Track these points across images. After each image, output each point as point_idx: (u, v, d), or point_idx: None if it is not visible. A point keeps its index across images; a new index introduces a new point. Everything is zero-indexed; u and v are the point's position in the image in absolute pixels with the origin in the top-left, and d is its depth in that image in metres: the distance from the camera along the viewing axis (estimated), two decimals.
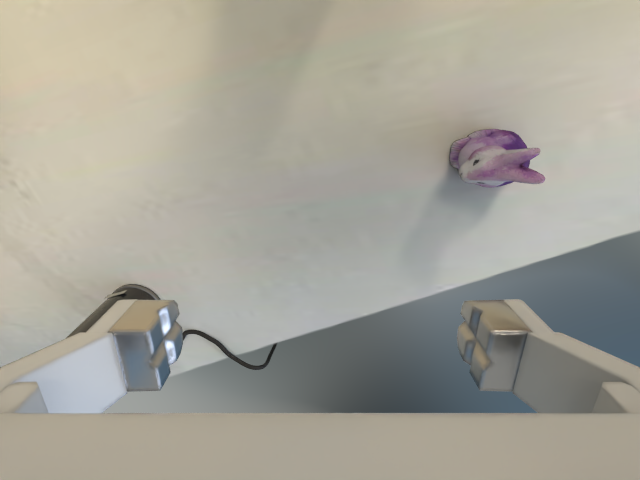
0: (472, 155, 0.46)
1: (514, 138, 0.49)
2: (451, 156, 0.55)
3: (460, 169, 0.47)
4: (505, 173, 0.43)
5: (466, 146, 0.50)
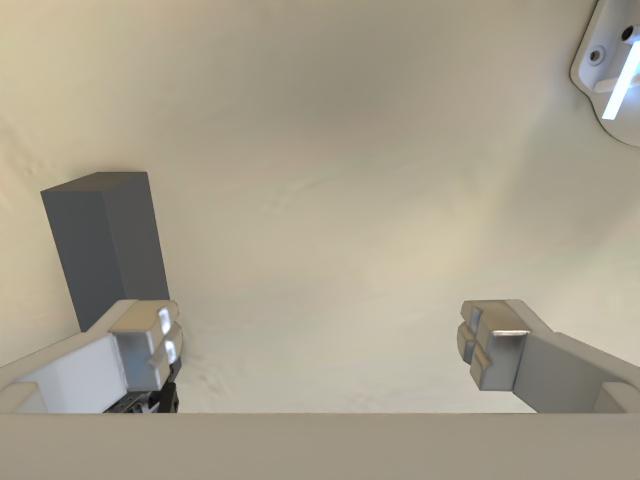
0: None
1: None
2: None
3: None
4: None
5: None
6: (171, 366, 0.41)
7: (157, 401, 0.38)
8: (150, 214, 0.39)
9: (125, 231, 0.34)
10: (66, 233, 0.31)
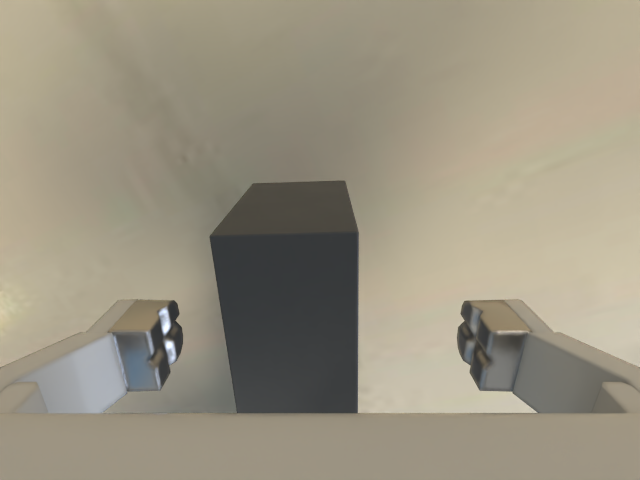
0: None
1: None
2: None
3: None
4: None
5: None
6: None
7: None
8: None
9: None
10: (255, 325, 0.14)
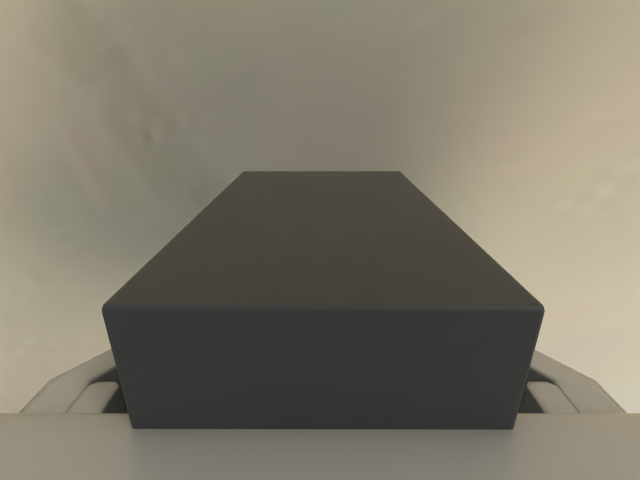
0: None
1: None
2: None
3: None
4: None
5: None
6: None
7: None
8: None
9: None
10: None
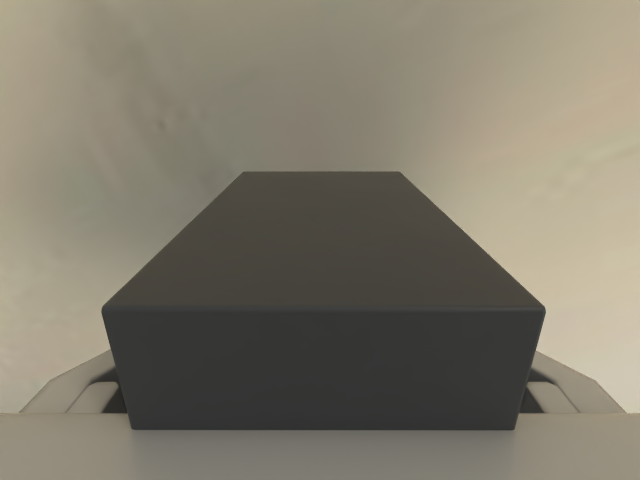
0: None
1: None
2: None
3: None
4: None
5: None
6: None
7: None
8: None
9: None
10: None
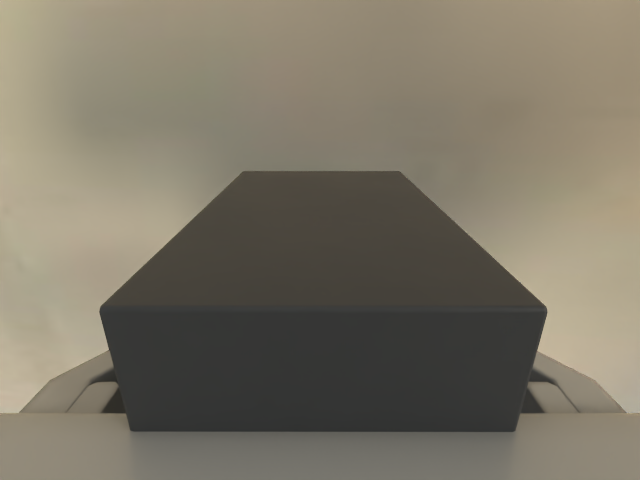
0: None
1: None
2: None
3: None
4: None
5: None
6: None
7: None
8: None
9: None
10: None
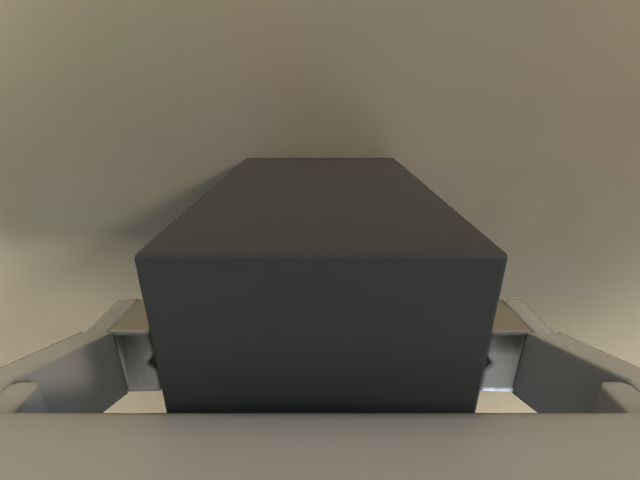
0: None
1: None
2: None
3: None
4: None
5: None
6: None
7: None
8: None
9: None
10: None
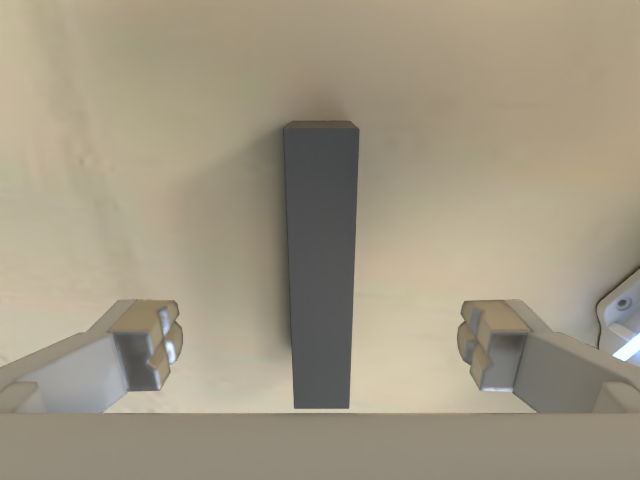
0: None
1: None
2: None
3: None
4: None
5: None
6: None
7: None
8: None
9: None
10: (303, 182, 0.26)
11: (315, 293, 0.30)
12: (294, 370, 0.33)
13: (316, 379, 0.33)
